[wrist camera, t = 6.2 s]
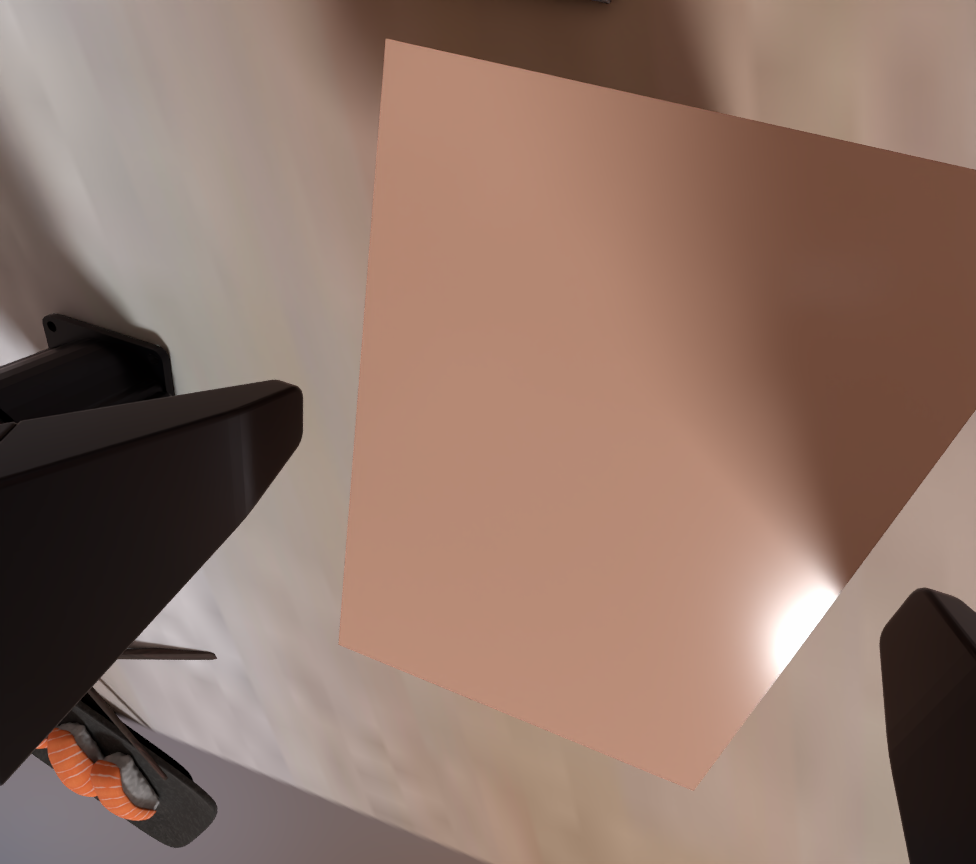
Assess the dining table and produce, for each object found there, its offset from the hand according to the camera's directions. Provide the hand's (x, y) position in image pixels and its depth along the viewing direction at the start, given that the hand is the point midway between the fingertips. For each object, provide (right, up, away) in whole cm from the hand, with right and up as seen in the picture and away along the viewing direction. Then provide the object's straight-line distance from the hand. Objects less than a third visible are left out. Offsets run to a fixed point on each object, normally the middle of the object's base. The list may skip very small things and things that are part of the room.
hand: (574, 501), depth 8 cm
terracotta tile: (+1, +1, +2) cm, 2 cm away
